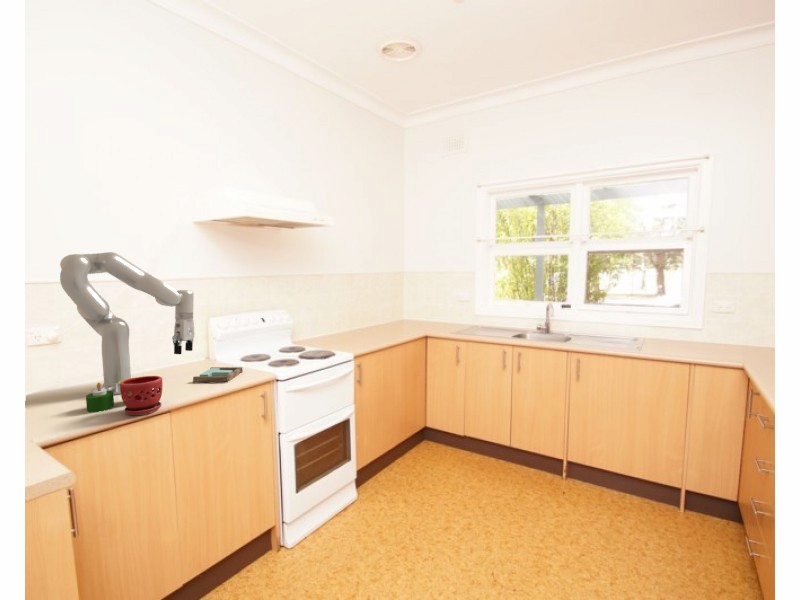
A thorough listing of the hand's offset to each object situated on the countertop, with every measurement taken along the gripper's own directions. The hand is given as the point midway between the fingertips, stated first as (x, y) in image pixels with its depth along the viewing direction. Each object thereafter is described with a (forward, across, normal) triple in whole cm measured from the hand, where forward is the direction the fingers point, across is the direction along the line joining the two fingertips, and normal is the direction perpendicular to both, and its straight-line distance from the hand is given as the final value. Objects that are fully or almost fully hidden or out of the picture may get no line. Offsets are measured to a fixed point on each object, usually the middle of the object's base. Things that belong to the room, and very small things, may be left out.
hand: (183, 352), depth 193 cm
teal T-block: (+12, +2, -16) cm, 20 cm away
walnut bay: (+12, +2, -16) cm, 20 cm away
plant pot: (+14, -43, -9) cm, 46 cm away
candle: (+15, -40, +9) cm, 44 cm away
